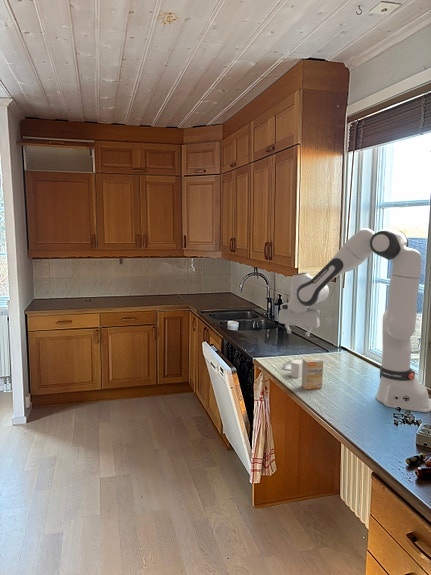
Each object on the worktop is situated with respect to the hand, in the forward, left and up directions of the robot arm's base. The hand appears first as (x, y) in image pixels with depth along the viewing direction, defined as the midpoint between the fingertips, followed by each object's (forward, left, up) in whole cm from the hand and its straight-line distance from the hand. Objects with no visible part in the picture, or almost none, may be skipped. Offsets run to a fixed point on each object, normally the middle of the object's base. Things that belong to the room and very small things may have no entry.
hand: (298, 334), depth 216 cm
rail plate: (+6, -8, -20) cm, 23 cm away
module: (0, 0, -21) cm, 21 cm away
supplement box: (-12, +11, -21) cm, 26 cm away
